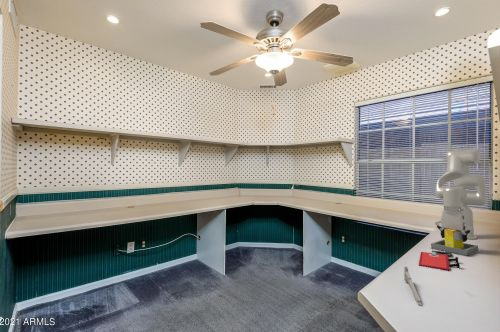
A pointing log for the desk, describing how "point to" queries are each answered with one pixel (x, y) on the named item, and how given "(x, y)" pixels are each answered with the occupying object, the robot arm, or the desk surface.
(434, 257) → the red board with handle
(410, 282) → the caliper
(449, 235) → the supplement box
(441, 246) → the tray
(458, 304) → the desk surface
